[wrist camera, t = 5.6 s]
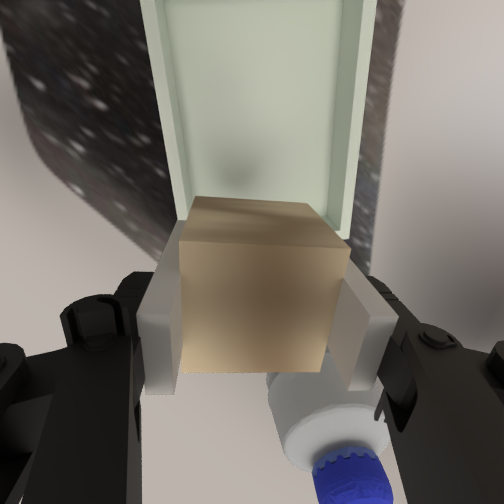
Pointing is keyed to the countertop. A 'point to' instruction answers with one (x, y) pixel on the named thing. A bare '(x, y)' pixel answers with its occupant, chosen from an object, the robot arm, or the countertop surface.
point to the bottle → (331, 433)
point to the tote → (262, 98)
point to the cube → (257, 286)
